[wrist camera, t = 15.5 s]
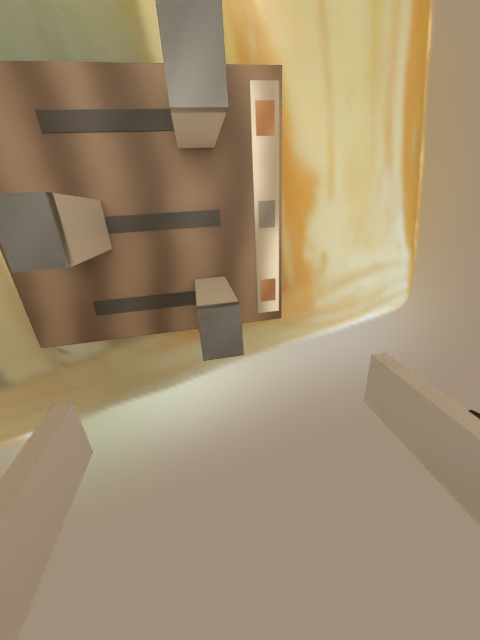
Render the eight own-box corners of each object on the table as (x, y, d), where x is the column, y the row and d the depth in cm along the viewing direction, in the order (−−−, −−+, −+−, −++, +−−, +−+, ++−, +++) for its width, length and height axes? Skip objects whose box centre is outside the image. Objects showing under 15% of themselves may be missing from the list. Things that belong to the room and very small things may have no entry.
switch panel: (53, 337, 28) (40, 349, 26) (-47, 77, 19) (-81, 58, 17) (274, 310, 31) (281, 318, 29) (272, 80, 23) (282, 64, 20)
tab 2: (177, 148, 21) (169, 107, 13) (169, 87, 20) (154, -4, 11) (213, 147, 22) (228, 107, 13) (209, 87, 20) (221, -1, 12)
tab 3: (199, 316, 27) (203, 360, 19) (194, 279, 26) (196, 309, 17) (227, 312, 27) (243, 354, 19) (224, 276, 26) (240, 304, 18)
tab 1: (76, 251, 23) (12, 272, 15) (61, 202, 21) (-20, 194, 13) (112, 248, 23) (69, 267, 15) (100, 199, 22) (44, 191, 13)
